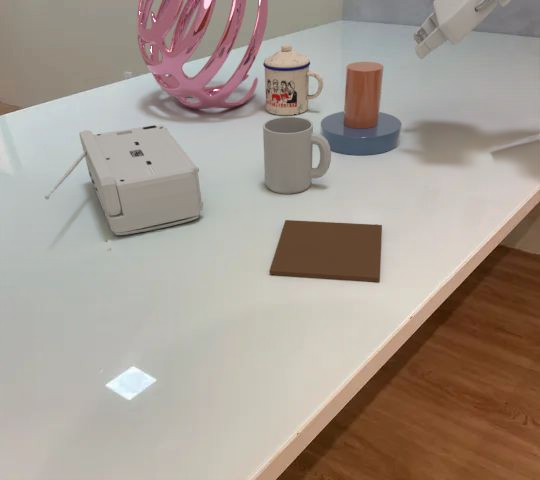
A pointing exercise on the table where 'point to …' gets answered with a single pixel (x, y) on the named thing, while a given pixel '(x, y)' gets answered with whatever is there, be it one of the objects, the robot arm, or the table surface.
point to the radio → (140, 178)
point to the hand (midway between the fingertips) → (416, 47)
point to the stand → (361, 135)
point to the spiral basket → (184, 48)
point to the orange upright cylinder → (362, 94)
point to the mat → (329, 251)
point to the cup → (292, 154)
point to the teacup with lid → (288, 82)
